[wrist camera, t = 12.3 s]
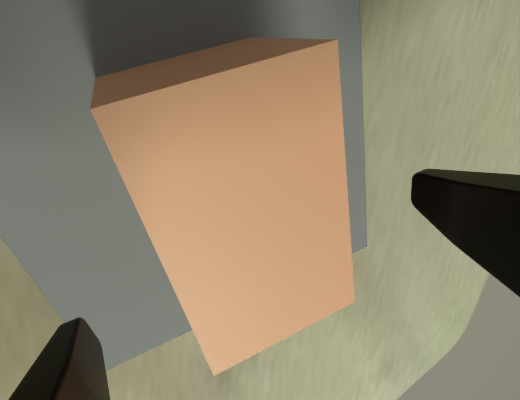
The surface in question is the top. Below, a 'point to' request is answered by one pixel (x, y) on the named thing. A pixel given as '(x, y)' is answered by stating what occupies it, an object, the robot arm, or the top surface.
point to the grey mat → (100, 159)
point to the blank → (239, 184)
